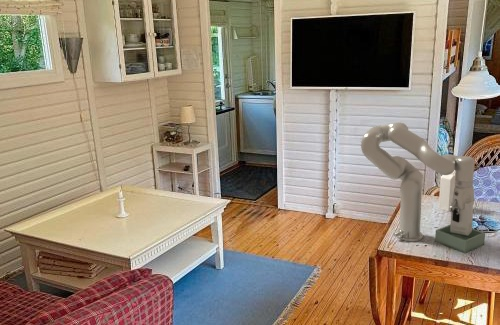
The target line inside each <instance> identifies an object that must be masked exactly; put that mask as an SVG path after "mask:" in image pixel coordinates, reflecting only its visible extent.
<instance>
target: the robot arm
mask: <svg viewBox="0 0 500 325" xmlns="http://www.w3.org/2000/svg"><path fill="white" fill-rule="evenodd" d="M360 142H361V143H360V149H361V152H362V154H363V155H364V157H365V158H366V159H367V160H368V161H370V162H371V163H372V164H373V165H374V166H375V167H377V169H379V170H380V171H381V172H382V173H383V174H384V175H385V176H387V177H388V178H389V179H391V180H394V181H395V180H398V179H399V180H400V188H399V192H400V204H399V205H400V207H399V208H400V211H399V212H400V213H399V214H400V215H399V227H398V230H397V231H396V232H393V237H394V238H398V239H399V240H402V241H406V242H419V241H422V240H423V238H424V234H423V233H422V232H421V221H422V220H421V218H422V215H421V214H422V192H423V191H422V190H423V187H424V183H425V177H424V174H422V172H421V171H420V170H419V169H417V168H416V167H415V166H414V165H413V164H412V163H410V162H409V161H408V160H407V159H406V158H404V157H402V156H400V155H395V156H394V155H393V156H392V155H391V154H390V153H388V152H387V151H386V150H385V149H383V148H381V146H380V144H381V143H384V142H392V143H393V144H395V145H397V146H398V147H400V148H402V149H403V150H405V151H407V152H408V153H410V154H412V155H413V156H414V157H416V159H417V160H418V161H420V162H421V163H422V164H423V165H424V166H426V167H428V168H429V169H430V170H432V171H435V172H436V173H438V174H439V175H441V176H442V175H449V174H451V173H454V172H455V173H454V176H455V188H454V192H453V200H452V205H451V206H450V209H451V211H452V213H453V218H452V220H453V221H455V222H459V218H460V214H459V212H460V209H465V203H468V202H471V201H473V205H474V204H475V190H474V189H475V188H474V175H475V174H474V173H475V159H474V157H472V156H468V155H461V156H460V155H455V154H451V153H450V154H443V155H441V154H439V153H438V152H436V151H435V150H434V149H432V148H431V147H432V146H430V145H429V143H428V142H427V141H426V140H425V139H424V138H422V137H421V136H419V135H418V134H415V133H414V132H413V131H411V130H409V126H407V124H405V123H404V122H393V123H387V124H383V125H381V124H380V125H376V126H372V127H371V128H370V129H369V130H367V131H366V132H365V133H364V134H363V136H362V138H361V141H360ZM456 205H458V207H455V206H456ZM456 208H457V209H458V210H457V211H456ZM451 211H450V212H451Z"/></svg>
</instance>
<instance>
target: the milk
mask: <svg viewBox="0 0 500 325" xmlns="http://www.w3.org/2000/svg"><path fill="white" fill-rule="evenodd" d="M454 188H455V173H454V172H452V173H451V174H449V175H442V174H441V176H440V182H439V196H438V197H439V199H438V209H439V210H442V211H445V212H451V209H450V206H451V202H452V200H453V192H454Z"/></svg>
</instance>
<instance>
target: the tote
mask: <svg viewBox="0 0 500 325" xmlns="http://www.w3.org/2000/svg"><path fill="white" fill-rule="evenodd" d="M450 227H451V223H450V224H449V225H448V224H447V225H446V226H443V227H440V228H437V229H435V234H434V235H435V240H434V242H435V243H437V244H440V245H442V246H446V247H448V248H450V249H452V250H455V251H457V252H461V253H462V254H467V253H469V252H471V251H473V250H474V251H475V250H476V249H478V248H480V247H483V246H485V240H486V233H485V232H483V231H480V230H478V229H474V228H472V232H471V233H470V234H469V235H468V236H467V235H462V234H457V233H452V232H450Z"/></svg>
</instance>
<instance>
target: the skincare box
mask: <svg viewBox="0 0 500 325" xmlns="http://www.w3.org/2000/svg"><path fill="white" fill-rule="evenodd" d="M451 205H452V202H451ZM455 207H458V205H456V206H455ZM457 210H458V209H457V208H456V211H457ZM459 214H460V218H459V222H455V221H453V220H452V218H453V213H452V211H450V224H451V227H450V232H452V233H457V234H462V235H467V236H468V235H469V234H470V233H471V232H472V229H473V219H474V204H473V201H471V202H468V203H465V209H460V212H459Z"/></svg>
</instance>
